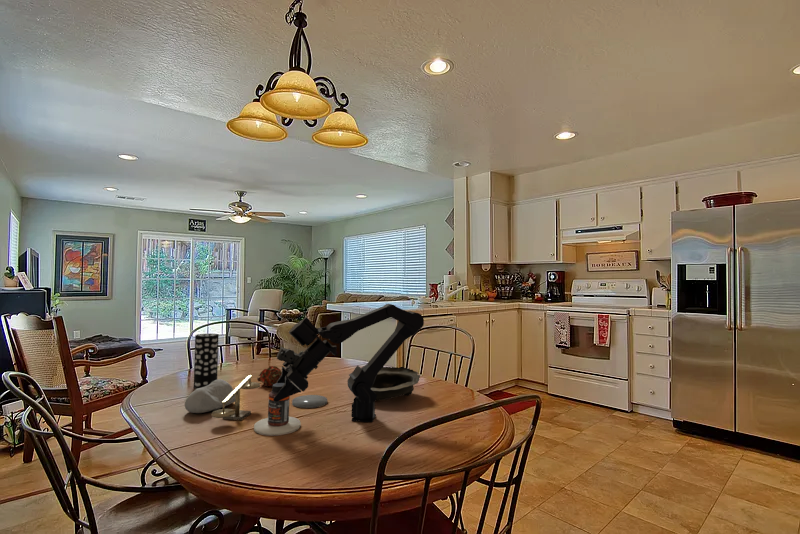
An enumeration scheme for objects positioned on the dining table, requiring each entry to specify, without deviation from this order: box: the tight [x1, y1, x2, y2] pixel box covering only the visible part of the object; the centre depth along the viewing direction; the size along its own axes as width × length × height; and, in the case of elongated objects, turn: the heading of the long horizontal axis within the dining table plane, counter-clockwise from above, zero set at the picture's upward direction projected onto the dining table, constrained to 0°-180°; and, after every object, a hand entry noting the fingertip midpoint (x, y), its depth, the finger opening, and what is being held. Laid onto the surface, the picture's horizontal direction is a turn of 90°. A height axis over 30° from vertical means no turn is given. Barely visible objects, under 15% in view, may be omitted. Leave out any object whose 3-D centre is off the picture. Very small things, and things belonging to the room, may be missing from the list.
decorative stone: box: [184, 378, 235, 414], centre depth 136 cm, size 17×10×10 cm
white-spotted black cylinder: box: [193, 333, 219, 390], centre depth 163 cm, size 8×8×20 cm
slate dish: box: [291, 394, 328, 409], centre depth 145 cm, size 12×12×1 cm
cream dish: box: [253, 416, 302, 437], centre depth 121 cm, size 13×13×1 cm
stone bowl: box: [371, 366, 421, 402], centre depth 155 cm, size 25×25×9 cm
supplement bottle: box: [267, 383, 291, 426], centre depth 121 cm, size 6×6×11 cm
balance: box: [211, 374, 261, 422], centre depth 129 cm, size 6×22×11 cm, turn 172°
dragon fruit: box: [257, 365, 282, 388], centre depth 166 cm, size 8×8×12 cm
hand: (273, 396), depth 121 cm, fingers open, 9 cm apart
